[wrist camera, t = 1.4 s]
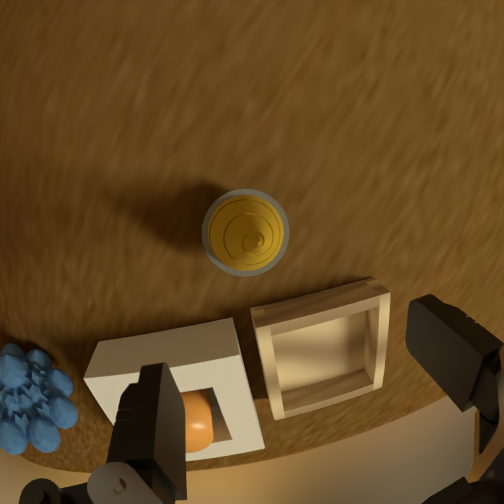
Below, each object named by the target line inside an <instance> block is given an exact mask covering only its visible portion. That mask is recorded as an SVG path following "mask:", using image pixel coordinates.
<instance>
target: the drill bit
mask: <svg viewBox="0 0 504 504" xmlns="http://www.w3.org/2000/svg"><path fill="white" fill-rule="evenodd" d="M288 241H289V224H288V220H287V217H286V215H285V213H284V211H283V209H282V207H281V206H280V205H279V204H278V202H277V201H275V200H274V199H273V198H272V197H271V196H269V195H267V194H265V193H263V192H261V191H257V190H254V189H238V190H234V191H231V192H228V193H226V194H224V195H223V196H221V197H220V198H218V199H217V200H216V201H215V202H214V203H213V204H212V205H211V207H210V208H209V209H208V211H207V213H206V215H205V217H204V221H203V224H202V242H203V245H204V248H205V251H206V253H207V255H208V256H209V258H210V259H211V261H212V262H213V263H214V264H215V265H216V266H217V267H219V268H220V269H221V270H223V271H225V272H227V273H229V274H232V275H236V276H243V277H248V276H255V275H258V274H262V273H264V272H266V271H267V270H269V269H271V268H272V267H273V266H274V265H276V264H277V263H278V261H279V260H280V259H281V258H282V256H283V254H284V252H285V250H286V248H287V245H288Z"/></svg>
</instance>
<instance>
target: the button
mask: <svg viewBox="0 0 504 504" xmlns="http://www.w3.org/2000/svg"><path fill="white" fill-rule="evenodd" d="M180 394H181V396H182V399H183V402H184V406H185V415H186V453H193V452H198V451H201V450H203V449H205V448H207V447H208V446H209V445H210V444H211V443H212V441H213V427H212V415H211V403H210V394H209V392H208V390H207V389H206V388H205V389H199V390H193V391H186V392H180Z"/></svg>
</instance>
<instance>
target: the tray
mask: <svg viewBox="0 0 504 504" xmlns="http://www.w3.org/2000/svg"><path fill="white" fill-rule="evenodd" d="M389 310H390V291H389V290H387V289H386V288H385V287H384V286H383V285H382V284H380V283H379V282H378V281H377V280H376V279H375V278H373V277H372V278H369V279H365V280H361V281H358V282H354V283H350V284H347V285H343V286H339V287H335V288H331V289H327V290H323V291H319V292H316V293H312V294H307V295H303V296H299V297H295V298H291V299H287V300H283V301H278V302H274V303H270V304H266V305H261V306H257V307H252V308H250V312H251V317H252V322H253V327H254V332H255V337H256V342H257V346H258V351H259V356H260V361H261V366H262V371H263V375H264V380H265V385H266V390H267V394H268V399H269V403H270V406H271V410H272V413H273V417H274V420H279V419H283V418H287V417H290V416H294V415H298V414H302V413H305V412H309V411H312V410H316V409H319V408H322V407H326V406H329V405H332V404H335V403H338V402H341V401H344V400H347V399H350V398H353V397H356V396H359V395H362V394H364V393H367V392H370V391H373V390H375V389H378V388H380V387H382V382H383V374H384V366H385V358H386V348H387V337H388V325H389Z"/></svg>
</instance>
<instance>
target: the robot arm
mask: <svg viewBox="0 0 504 504" xmlns="http://www.w3.org/2000/svg"><path fill="white" fill-rule="evenodd" d="M406 345H407V348H408V351H409V352H410V354H411V355H412V356H413V357H414V358H415V359H416V360H417V362H418V363H419V364H420V365H421V366H422V367H423V368H424V369H425V370H426V371H427V373H428V374H429V375H430V376H431V377H432V378H433V379H434V380H435V382H436V383H437V384H438V385H439V386H440V387H441V388H442V389H443V391H444V392H445V393H446V394H447V395H448V396H449V397H450V398H451V400H452V401H453V402H454V403H455V404H456V405H457V406H458V408H459V409H460V410H461V411H462V412H464V411H466V410H468V409H469V408H471V407H472V406H475V407H476V408H477V410H476V413H475V435H474V455H473V463H472V466H471V469H470V472H469V474H468V477H467V480H466V479H465V477H462V478H460V479H459V480H457V481H456V482H454V483H453V484H451V485H449V486H448V487H446V488H444V489H443V490H441V491H439V492H437V493H436V494H434V495H432V496H430V497H429V498H428V499H427V500H425V501H424V502H423V503H422V504H504V343H503V342H501V341H500V340H499V339H498V338H496V337H495V336H494V335H493V334H491V333H490V332H489V331H488V330H486V329H485V328H484V327H482V326H481V325H480V324H479V323H476V321H475V320H473V319H472V318H471V317H468V315H467V314H465V313H464V312H463V311H461V310H460V309H459V308H457V307H454V306H451V305H449V304H446V303H443V302H442V301H440V300H439V299H438V298H436V297H435V296H434V295H432V294H428V295H425V296H423V297H420V298H417V299H414V300H412V301H411V302H410V304H409V308H408V319H407V329H406ZM115 420H116V422H115V423H114V427H113V432H112V437H111V441H110V446H109V451H108V457H107V461H106V464H103V465H101V466H99V467H98V468H96V469H95V470H94V471H93V472H92V474H91V475H90V477H89V479H88V482H86V483H83V484H79V485H74V486H70V487H65V488H59V487H58V486H57V485H56V484H55V483H54V482H52V481H51V480H48V479H44V478H40V479H36V480H33V481H31V482H30V483H28V484H27V485H26V486H25V487H24V489H23V490H22V493H21V496H20V500H19V504H175V501H176V500H187V487H186V415H185V406H184V402H183V399H182V396H181V394H180V392H179V389H178V387H177V385H176V382H175V380H174V378H173V376H172V373H171V371H170V368H169V366H168V364H167V363H166V362H162V363H156V364H149V365H143V366H142V367H141V370H140V374H139V379H138V383H130V384H129V385H128V386H127V388H126V389H125V390H124V392H123V393H122V395H121V397H120V401H119V405H118V411H117V414H116V418H115Z"/></svg>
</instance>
